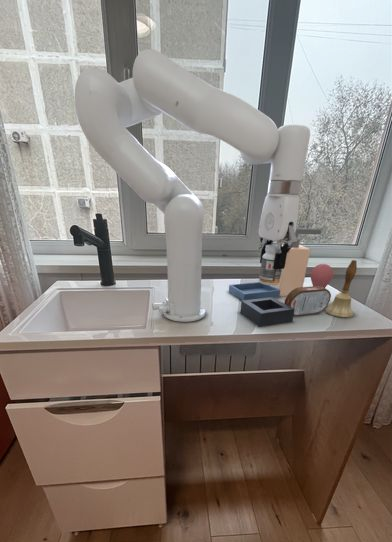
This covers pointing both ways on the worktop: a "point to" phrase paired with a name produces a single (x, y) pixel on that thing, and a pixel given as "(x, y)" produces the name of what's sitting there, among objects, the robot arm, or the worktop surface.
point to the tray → (253, 291)
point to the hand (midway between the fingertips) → (271, 265)
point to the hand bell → (344, 295)
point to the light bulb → (321, 275)
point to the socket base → (266, 311)
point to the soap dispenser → (295, 265)
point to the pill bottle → (269, 267)
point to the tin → (308, 300)
